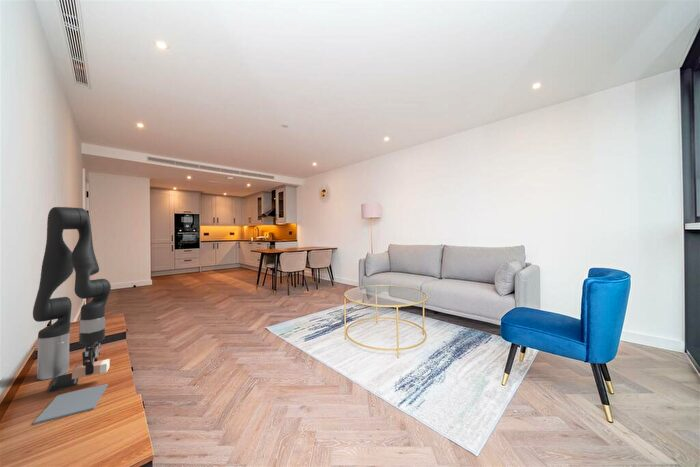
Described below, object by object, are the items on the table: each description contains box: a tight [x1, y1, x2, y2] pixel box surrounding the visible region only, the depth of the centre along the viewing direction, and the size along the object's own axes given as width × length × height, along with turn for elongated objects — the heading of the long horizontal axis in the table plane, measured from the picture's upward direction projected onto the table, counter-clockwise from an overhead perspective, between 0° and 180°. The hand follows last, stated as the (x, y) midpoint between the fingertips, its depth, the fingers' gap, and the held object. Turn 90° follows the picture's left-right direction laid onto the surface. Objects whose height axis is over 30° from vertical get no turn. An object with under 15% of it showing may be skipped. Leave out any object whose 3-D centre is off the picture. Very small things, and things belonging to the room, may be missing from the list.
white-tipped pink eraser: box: [71, 358, 111, 379], centre depth 106 cm, size 10×5×4 cm, turn 122°
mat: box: [32, 383, 109, 426], centre depth 94 cm, size 18×14×1 cm
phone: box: [47, 372, 80, 394], centre depth 108 cm, size 8×1×15 cm
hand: (91, 371), depth 106 cm, fingers closed on white-tipped pink eraser, 5 cm apart
